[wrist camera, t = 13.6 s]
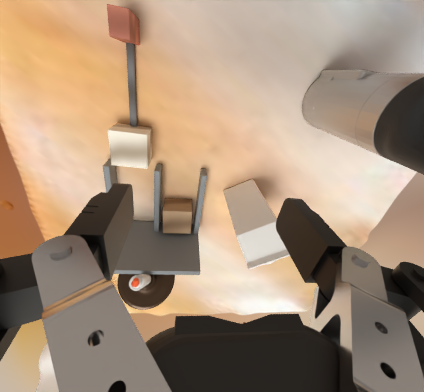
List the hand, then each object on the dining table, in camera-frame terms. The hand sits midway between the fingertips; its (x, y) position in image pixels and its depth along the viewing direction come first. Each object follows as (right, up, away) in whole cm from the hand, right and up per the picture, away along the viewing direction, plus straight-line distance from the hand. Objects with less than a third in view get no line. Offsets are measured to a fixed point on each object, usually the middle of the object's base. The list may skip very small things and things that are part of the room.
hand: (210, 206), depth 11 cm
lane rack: (-12, 0, +34) cm, 36 cm away
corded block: (-13, +17, +23) cm, 32 cm away
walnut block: (-8, -3, +36) cm, 37 cm away
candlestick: (-16, -21, +43) cm, 50 cm away
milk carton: (+7, 0, +36) cm, 37 cm away
